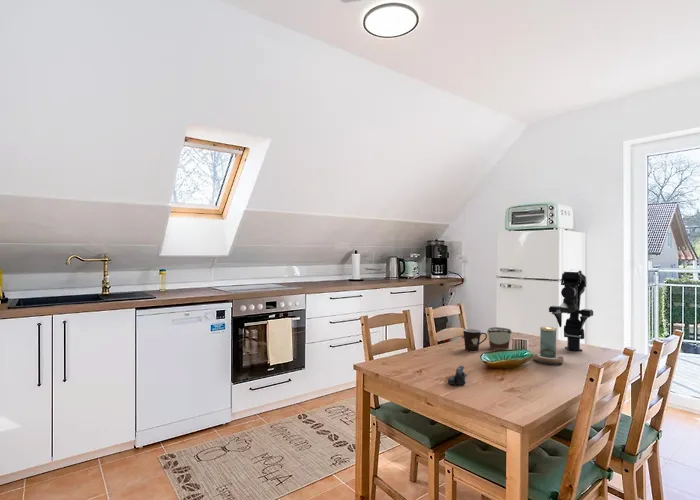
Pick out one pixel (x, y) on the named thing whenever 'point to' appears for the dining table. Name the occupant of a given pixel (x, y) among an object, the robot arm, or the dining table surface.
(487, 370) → the dining table surface
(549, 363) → the turntable base
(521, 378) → the dining table surface
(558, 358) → the turntable
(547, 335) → the tea tin
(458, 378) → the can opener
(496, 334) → the food container
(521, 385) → the dining table surface
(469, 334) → the coffee mug
